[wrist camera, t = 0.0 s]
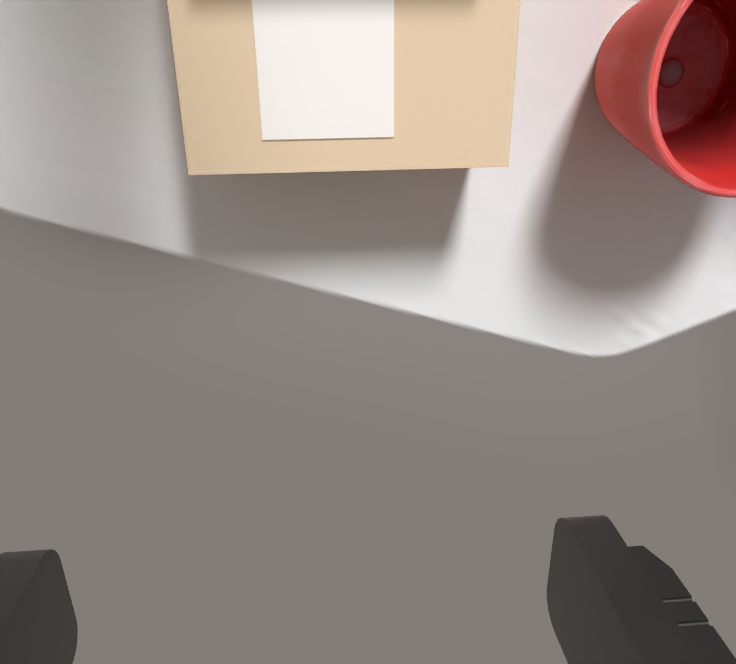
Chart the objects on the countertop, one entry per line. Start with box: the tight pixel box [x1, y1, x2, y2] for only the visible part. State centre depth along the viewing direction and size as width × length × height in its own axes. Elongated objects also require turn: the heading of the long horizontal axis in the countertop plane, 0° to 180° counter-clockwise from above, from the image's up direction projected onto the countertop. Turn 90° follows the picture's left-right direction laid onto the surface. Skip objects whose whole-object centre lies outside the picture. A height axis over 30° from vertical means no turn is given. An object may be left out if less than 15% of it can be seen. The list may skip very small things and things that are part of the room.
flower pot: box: [595, 0, 736, 197], centre depth 31 cm, size 11×11×10 cm
